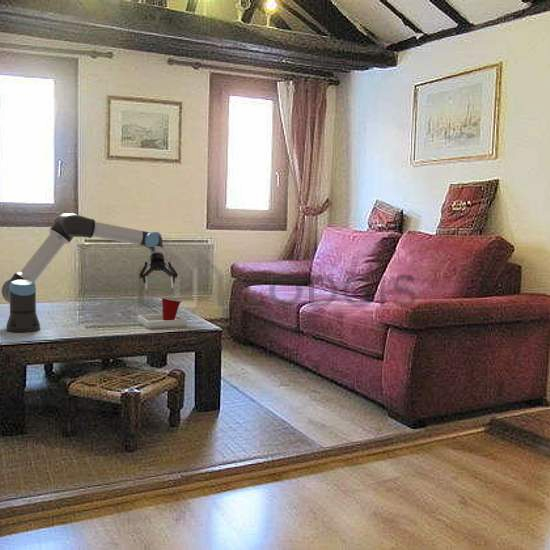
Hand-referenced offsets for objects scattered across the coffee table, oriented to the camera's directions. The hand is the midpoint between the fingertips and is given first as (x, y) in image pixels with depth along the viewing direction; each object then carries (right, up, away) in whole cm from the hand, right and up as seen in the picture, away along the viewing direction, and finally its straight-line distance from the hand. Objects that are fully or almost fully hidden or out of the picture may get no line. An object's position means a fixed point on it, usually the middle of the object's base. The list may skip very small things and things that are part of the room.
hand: (159, 287), depth 341 cm
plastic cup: (+6, -17, -5) cm, 19 cm away
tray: (+2, -19, -8) cm, 21 cm away
